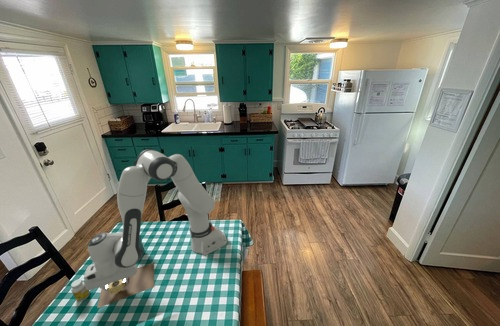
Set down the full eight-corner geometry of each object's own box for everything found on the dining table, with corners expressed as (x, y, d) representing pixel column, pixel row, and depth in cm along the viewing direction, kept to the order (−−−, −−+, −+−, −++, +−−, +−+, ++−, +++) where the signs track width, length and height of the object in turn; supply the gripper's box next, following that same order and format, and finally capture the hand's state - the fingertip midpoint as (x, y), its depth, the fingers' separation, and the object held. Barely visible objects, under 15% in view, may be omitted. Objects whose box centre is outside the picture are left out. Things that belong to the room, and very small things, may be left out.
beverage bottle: (140, 260, 117) (132, 233, 110) (130, 258, 119) (121, 231, 111) (148, 251, 123) (140, 225, 115) (138, 250, 125) (130, 224, 117)
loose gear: (125, 279, 102) (124, 275, 101) (124, 291, 96) (122, 286, 95) (110, 284, 99) (108, 280, 98) (108, 296, 94) (106, 292, 93)
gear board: (154, 264, 115) (152, 255, 112) (155, 288, 101) (152, 279, 99) (104, 281, 106) (100, 272, 103) (98, 310, 92) (93, 301, 90)
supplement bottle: (92, 292, 100) (86, 278, 97) (82, 303, 95) (75, 289, 92) (84, 290, 101) (77, 276, 98) (73, 300, 97) (66, 286, 93)
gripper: (134, 252, 99) (140, 272, 104) (83, 268, 91) (93, 289, 96) (133, 262, 93) (140, 283, 99) (79, 279, 86) (89, 301, 91)
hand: (116, 286), depth 97 cm, fingers closed on loose gear, 6 cm apart
